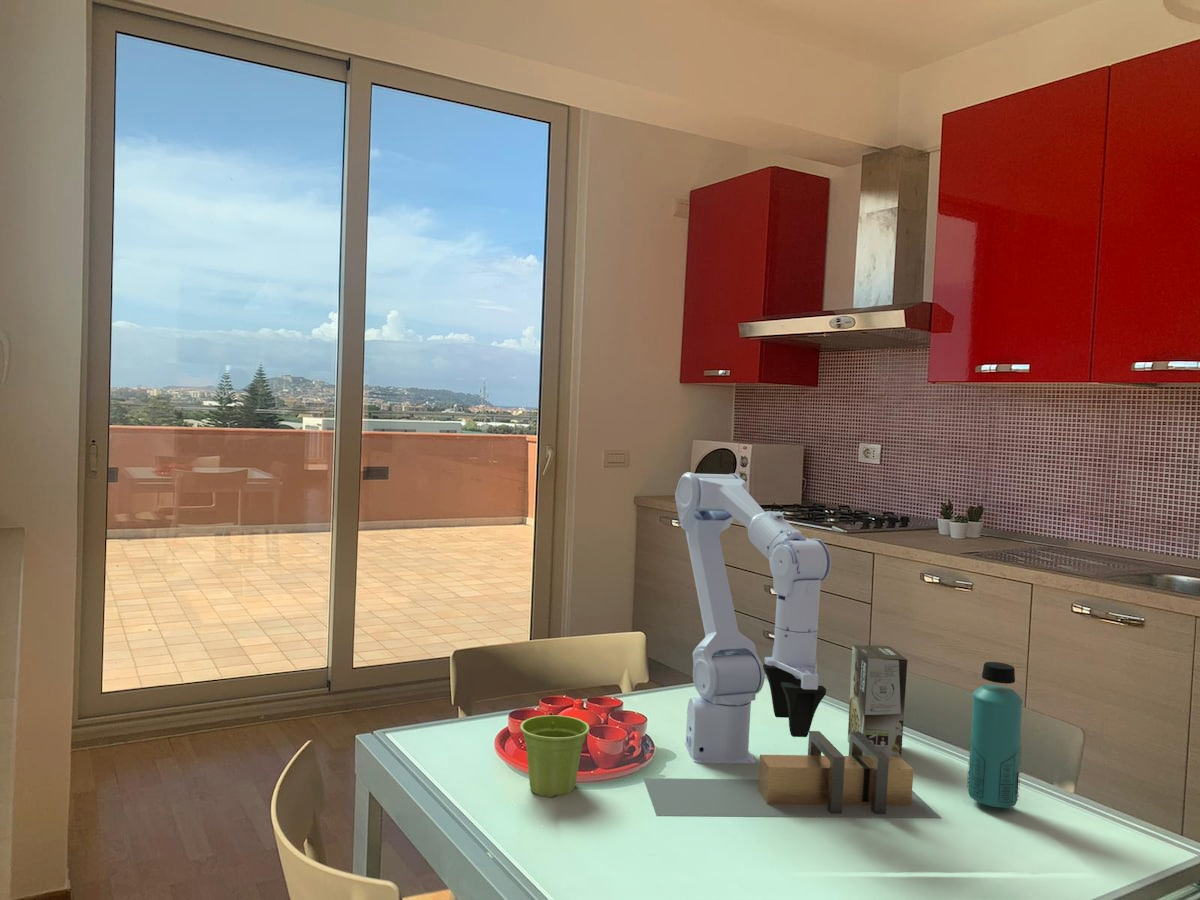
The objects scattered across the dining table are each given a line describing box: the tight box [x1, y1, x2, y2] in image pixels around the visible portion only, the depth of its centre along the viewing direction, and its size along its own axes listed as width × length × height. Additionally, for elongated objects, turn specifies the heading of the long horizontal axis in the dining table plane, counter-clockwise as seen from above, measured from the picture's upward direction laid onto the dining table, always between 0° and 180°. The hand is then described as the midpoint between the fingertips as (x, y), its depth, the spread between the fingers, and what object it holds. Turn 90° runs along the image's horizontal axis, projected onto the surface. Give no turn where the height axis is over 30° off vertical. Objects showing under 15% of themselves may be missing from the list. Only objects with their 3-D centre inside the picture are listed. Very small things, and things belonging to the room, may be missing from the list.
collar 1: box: [807, 730, 845, 814], centre depth 122 cm, size 2×10×8 cm, turn 5°
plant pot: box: [519, 714, 590, 798], centre depth 121 cm, size 9×9×9 cm
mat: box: [643, 777, 943, 819], centre depth 121 cm, size 38×12×1 cm, turn 95°
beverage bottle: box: [966, 661, 1023, 808], centre depth 122 cm, size 6×7×20 cm
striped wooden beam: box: [758, 754, 914, 806], centre depth 122 cm, size 20×5×5 cm, turn 95°
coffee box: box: [847, 644, 909, 759], centre depth 142 cm, size 9×6×16 cm
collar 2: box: [848, 732, 889, 814], centre depth 122 cm, size 2×10×8 cm, turn 5°
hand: (790, 726), depth 122 cm, fingers open, 7 cm apart
